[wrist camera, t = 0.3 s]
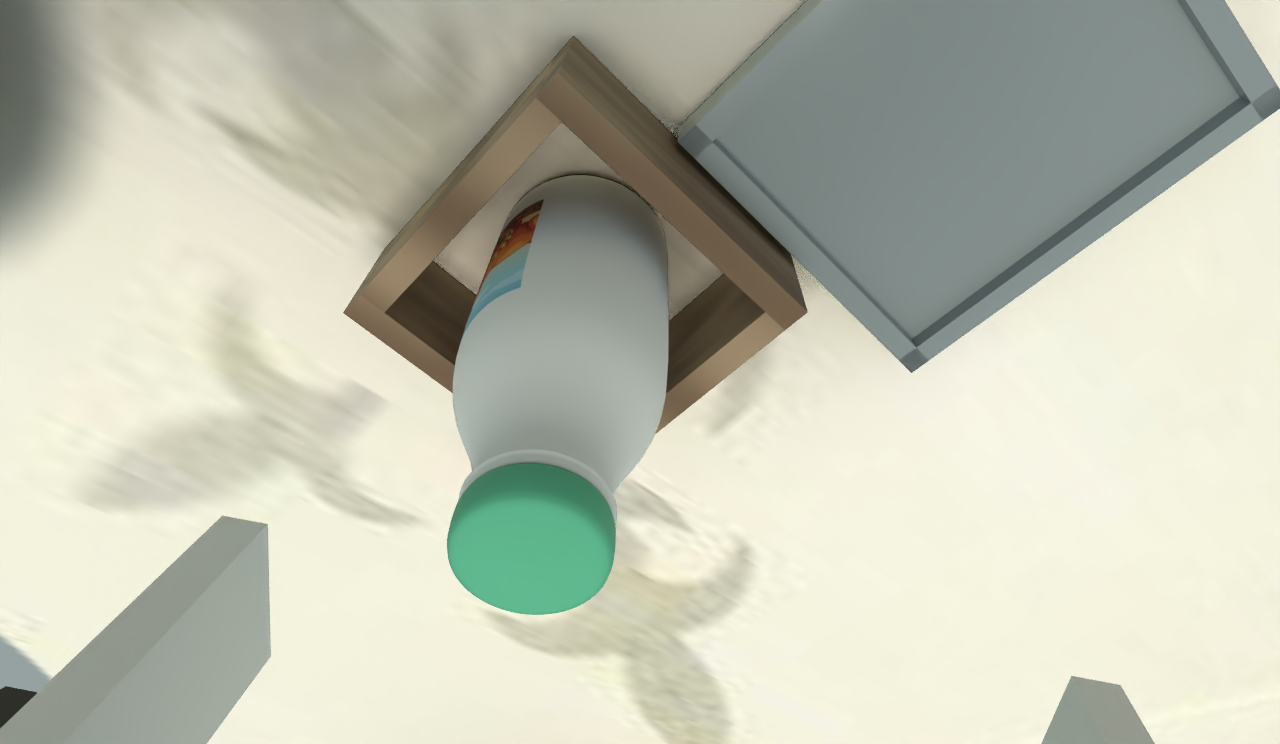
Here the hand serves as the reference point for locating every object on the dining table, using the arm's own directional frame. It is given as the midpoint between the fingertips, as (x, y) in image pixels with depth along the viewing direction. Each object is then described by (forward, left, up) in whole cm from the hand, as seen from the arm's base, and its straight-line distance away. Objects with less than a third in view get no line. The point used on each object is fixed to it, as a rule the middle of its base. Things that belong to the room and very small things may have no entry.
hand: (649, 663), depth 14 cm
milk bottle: (+6, +1, -27) cm, 28 cm away
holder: (+6, +1, -27) cm, 28 cm away
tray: (-10, +8, -27) cm, 30 cm away
